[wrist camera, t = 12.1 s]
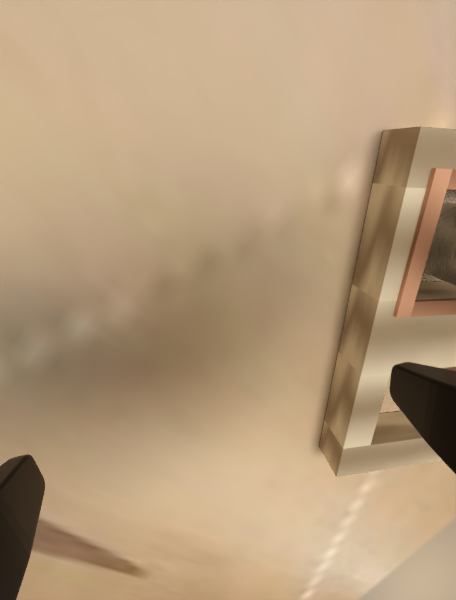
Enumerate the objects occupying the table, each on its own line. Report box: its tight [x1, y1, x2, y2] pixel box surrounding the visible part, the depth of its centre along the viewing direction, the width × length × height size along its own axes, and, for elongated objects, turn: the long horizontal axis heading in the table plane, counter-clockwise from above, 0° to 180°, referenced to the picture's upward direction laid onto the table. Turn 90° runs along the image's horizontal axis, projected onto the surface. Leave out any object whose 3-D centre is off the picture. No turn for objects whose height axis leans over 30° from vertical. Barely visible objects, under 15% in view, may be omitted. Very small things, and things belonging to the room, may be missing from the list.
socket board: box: [319, 127, 456, 477], centre depth 24 cm, size 24×11×3 cm, turn 177°
